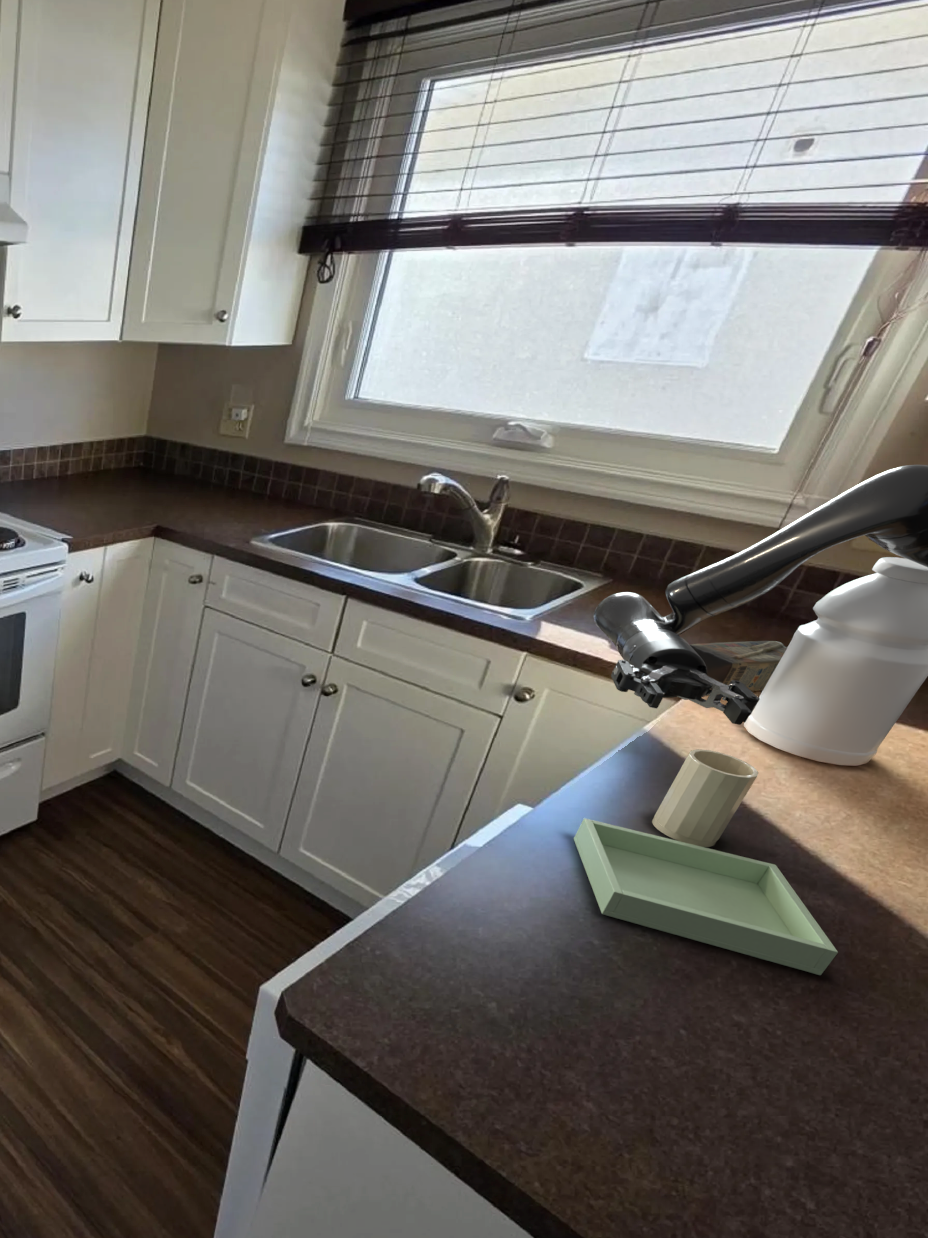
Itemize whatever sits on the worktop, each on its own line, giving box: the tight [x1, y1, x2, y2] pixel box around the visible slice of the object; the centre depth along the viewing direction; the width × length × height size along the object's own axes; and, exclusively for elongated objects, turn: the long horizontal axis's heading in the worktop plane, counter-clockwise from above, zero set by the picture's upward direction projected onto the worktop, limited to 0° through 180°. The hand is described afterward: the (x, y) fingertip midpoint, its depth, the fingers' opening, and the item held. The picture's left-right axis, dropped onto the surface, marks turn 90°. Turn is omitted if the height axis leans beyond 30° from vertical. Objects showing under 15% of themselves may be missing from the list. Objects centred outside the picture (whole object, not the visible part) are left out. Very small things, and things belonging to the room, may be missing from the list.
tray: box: [573, 817, 839, 976], centre depth 86 cm, size 18×15×3 cm
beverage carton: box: [689, 640, 788, 692], centre depth 136 cm, size 8×19×7 cm, turn 102°
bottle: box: [743, 556, 928, 767], centre depth 113 cm, size 14×14×28 cm
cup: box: [651, 748, 759, 848], centre depth 96 cm, size 6×6×10 cm
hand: (698, 709), depth 102 cm, fingers open, 8 cm apart
